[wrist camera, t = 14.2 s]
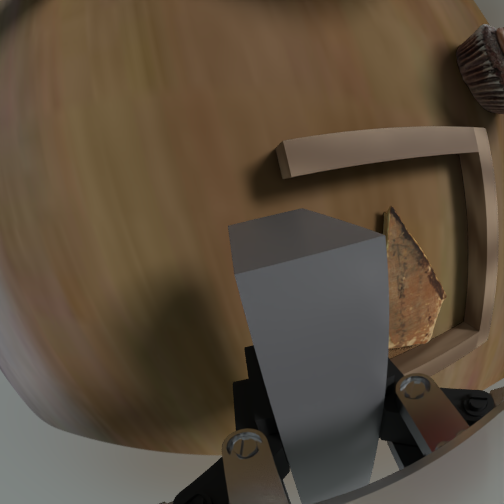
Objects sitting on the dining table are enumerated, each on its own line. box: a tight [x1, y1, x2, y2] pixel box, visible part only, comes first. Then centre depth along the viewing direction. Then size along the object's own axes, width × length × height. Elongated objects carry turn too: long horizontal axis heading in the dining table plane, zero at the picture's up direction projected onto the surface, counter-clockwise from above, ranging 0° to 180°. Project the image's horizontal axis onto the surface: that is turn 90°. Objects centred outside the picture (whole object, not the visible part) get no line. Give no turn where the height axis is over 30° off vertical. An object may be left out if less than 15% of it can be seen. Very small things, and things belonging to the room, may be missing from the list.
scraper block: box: [228, 208, 389, 504], centre depth 9 cm, size 12×3×6 cm, turn 13°
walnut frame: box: [275, 126, 498, 377], centre depth 17 cm, size 20×18×2 cm
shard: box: [383, 206, 446, 349], centre depth 19 cm, size 11×8×2 cm
